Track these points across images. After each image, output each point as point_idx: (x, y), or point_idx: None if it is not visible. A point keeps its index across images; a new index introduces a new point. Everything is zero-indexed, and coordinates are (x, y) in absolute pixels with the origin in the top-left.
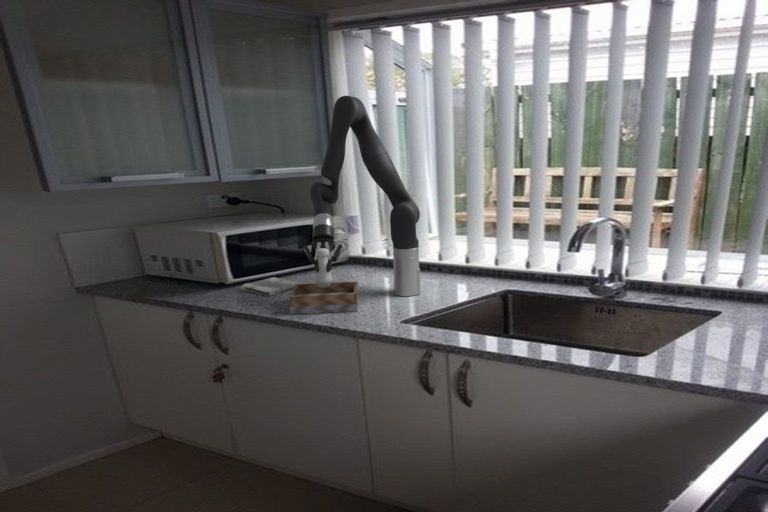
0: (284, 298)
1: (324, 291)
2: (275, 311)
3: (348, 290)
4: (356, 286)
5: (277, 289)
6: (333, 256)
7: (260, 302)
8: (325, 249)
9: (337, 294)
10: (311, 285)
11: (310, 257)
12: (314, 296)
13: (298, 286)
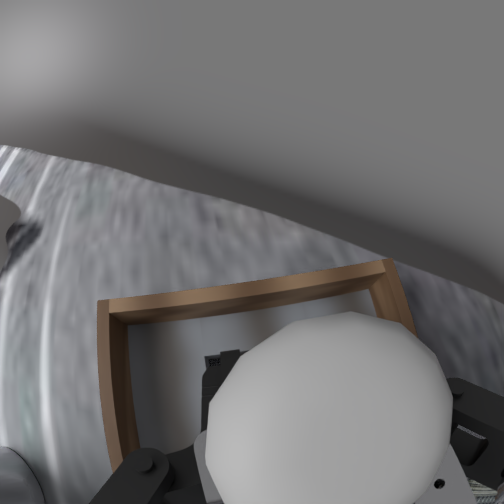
0: None
1: None
2: (420, 311)
3: None
4: (106, 429)
5: (476, 487)
6: (161, 468)
7: (486, 388)
8: (269, 418)
9: (179, 293)
10: None
11: (455, 382)
12: (290, 276)
13: None
